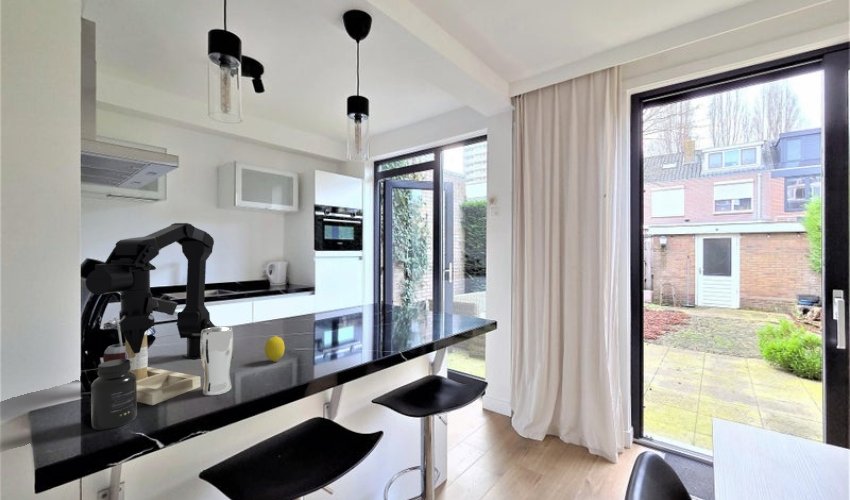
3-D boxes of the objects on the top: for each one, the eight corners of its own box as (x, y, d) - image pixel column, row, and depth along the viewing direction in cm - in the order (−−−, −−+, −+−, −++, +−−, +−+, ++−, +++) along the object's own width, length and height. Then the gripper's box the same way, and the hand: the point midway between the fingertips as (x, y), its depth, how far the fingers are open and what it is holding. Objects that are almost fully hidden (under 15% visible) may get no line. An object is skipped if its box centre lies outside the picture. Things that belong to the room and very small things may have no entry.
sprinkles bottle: (120, 382, 86) (120, 328, 86) (141, 376, 91) (141, 324, 90) (131, 385, 85) (130, 330, 84) (152, 378, 89) (151, 326, 89)
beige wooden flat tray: (96, 391, 84) (96, 380, 84) (146, 375, 95) (146, 365, 95) (152, 405, 77) (152, 392, 77) (200, 386, 87) (200, 375, 87)
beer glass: (209, 399, 80) (209, 334, 80) (194, 392, 84) (194, 330, 84) (239, 388, 86) (239, 328, 86) (224, 382, 90) (223, 324, 89)
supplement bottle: (83, 427, 68) (82, 365, 67) (124, 411, 74) (123, 355, 74) (104, 433, 65) (103, 370, 65) (144, 417, 71) (144, 359, 71)
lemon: (288, 359, 109) (287, 333, 109) (278, 365, 103) (278, 338, 103) (271, 358, 109) (271, 333, 109) (261, 364, 104) (261, 337, 104)
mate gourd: (124, 378, 93) (123, 322, 93) (92, 379, 92) (92, 323, 92) (144, 368, 100) (144, 317, 100) (115, 369, 100) (115, 317, 100)
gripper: (179, 289, 86) (180, 352, 86) (170, 283, 100) (171, 338, 100) (119, 294, 78) (120, 362, 79) (118, 287, 92) (119, 345, 92)
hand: (136, 350), depth 88 cm, fingers closed on sprinkles bottle, 4 cm apart
